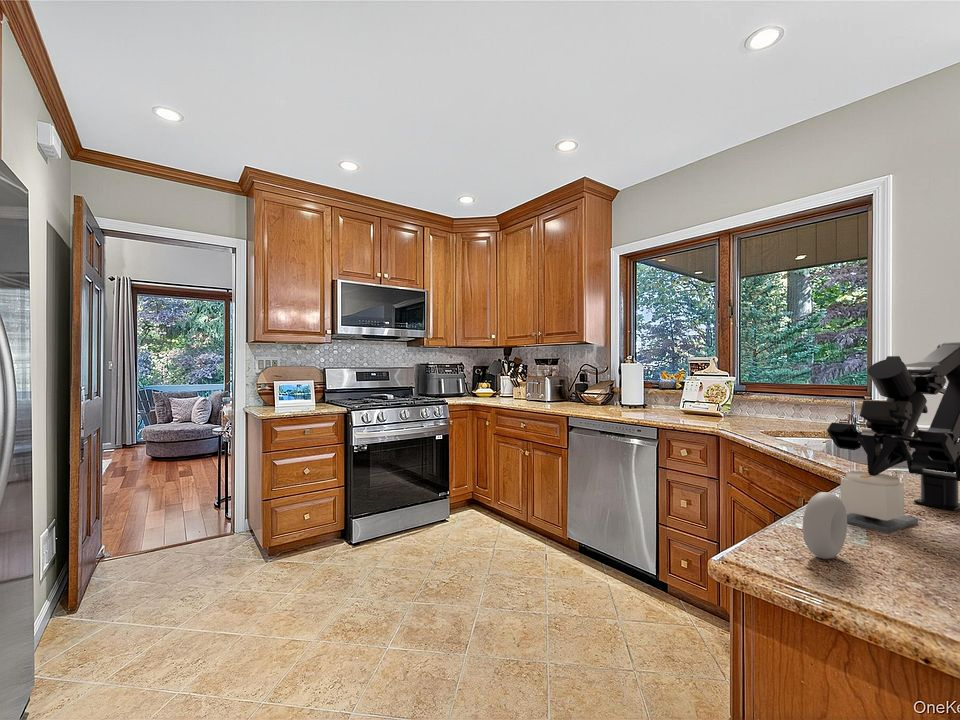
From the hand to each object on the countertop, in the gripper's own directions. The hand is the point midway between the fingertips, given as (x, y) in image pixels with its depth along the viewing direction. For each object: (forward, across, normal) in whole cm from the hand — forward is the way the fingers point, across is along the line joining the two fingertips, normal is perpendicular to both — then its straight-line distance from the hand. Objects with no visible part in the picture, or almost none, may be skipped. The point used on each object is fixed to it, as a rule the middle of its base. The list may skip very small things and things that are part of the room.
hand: (871, 474), depth 87 cm
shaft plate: (+6, 0, +7) cm, 9 cm away
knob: (+5, 0, +5) cm, 7 cm away
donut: (+26, +6, -12) cm, 29 cm away
